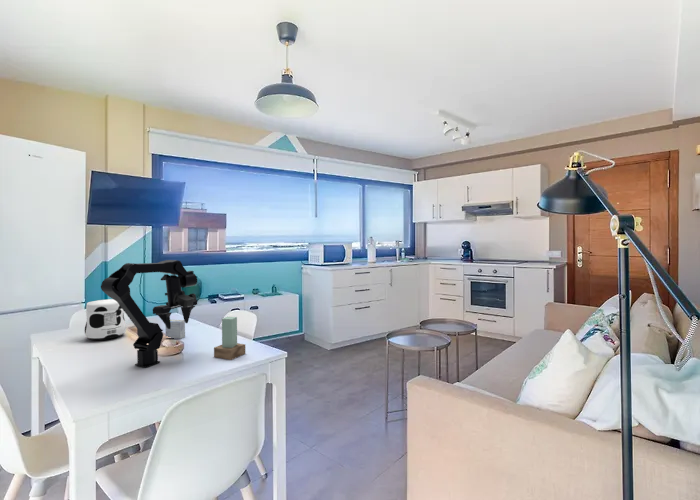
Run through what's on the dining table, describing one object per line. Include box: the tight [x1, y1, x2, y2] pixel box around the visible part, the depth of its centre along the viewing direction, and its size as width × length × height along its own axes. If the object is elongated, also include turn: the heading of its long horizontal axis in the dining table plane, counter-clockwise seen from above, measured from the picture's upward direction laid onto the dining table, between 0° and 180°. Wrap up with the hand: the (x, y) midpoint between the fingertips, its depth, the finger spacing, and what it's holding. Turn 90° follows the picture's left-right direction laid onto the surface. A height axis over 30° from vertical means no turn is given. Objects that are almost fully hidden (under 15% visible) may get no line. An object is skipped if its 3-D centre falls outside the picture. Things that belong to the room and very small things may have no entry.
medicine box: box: [164, 319, 186, 340], centre depth 184 cm, size 8×4×9 cm, turn 84°
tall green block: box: [221, 316, 238, 348], centre depth 157 cm, size 4×4×12 cm
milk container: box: [84, 298, 127, 341], centre depth 185 cm, size 17×17×18 cm
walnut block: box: [213, 342, 246, 361], centre depth 157 cm, size 9×9×4 cm
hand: (178, 325), depth 157 cm, fingers open, 9 cm apart
